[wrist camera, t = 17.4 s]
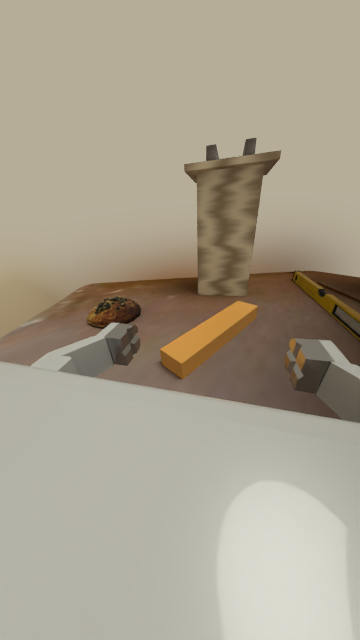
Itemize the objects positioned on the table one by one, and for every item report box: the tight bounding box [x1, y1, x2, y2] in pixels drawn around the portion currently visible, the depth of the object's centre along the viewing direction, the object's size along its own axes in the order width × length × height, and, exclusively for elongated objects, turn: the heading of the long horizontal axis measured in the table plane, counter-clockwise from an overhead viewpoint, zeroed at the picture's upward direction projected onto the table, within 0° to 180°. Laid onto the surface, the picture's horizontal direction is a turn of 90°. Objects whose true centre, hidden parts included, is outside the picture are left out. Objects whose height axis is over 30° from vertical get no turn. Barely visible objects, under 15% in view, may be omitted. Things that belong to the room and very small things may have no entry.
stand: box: [184, 138, 281, 296], centre depth 42 cm, size 16×13×28 cm
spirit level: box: [292, 271, 360, 340], centre depth 37 cm, size 33×1×3 cm, turn 168°
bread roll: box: [87, 297, 141, 328], centre depth 38 cm, size 11×11×5 cm
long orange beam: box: [160, 301, 258, 379], centre depth 28 cm, size 4×20×3 cm, turn 135°
